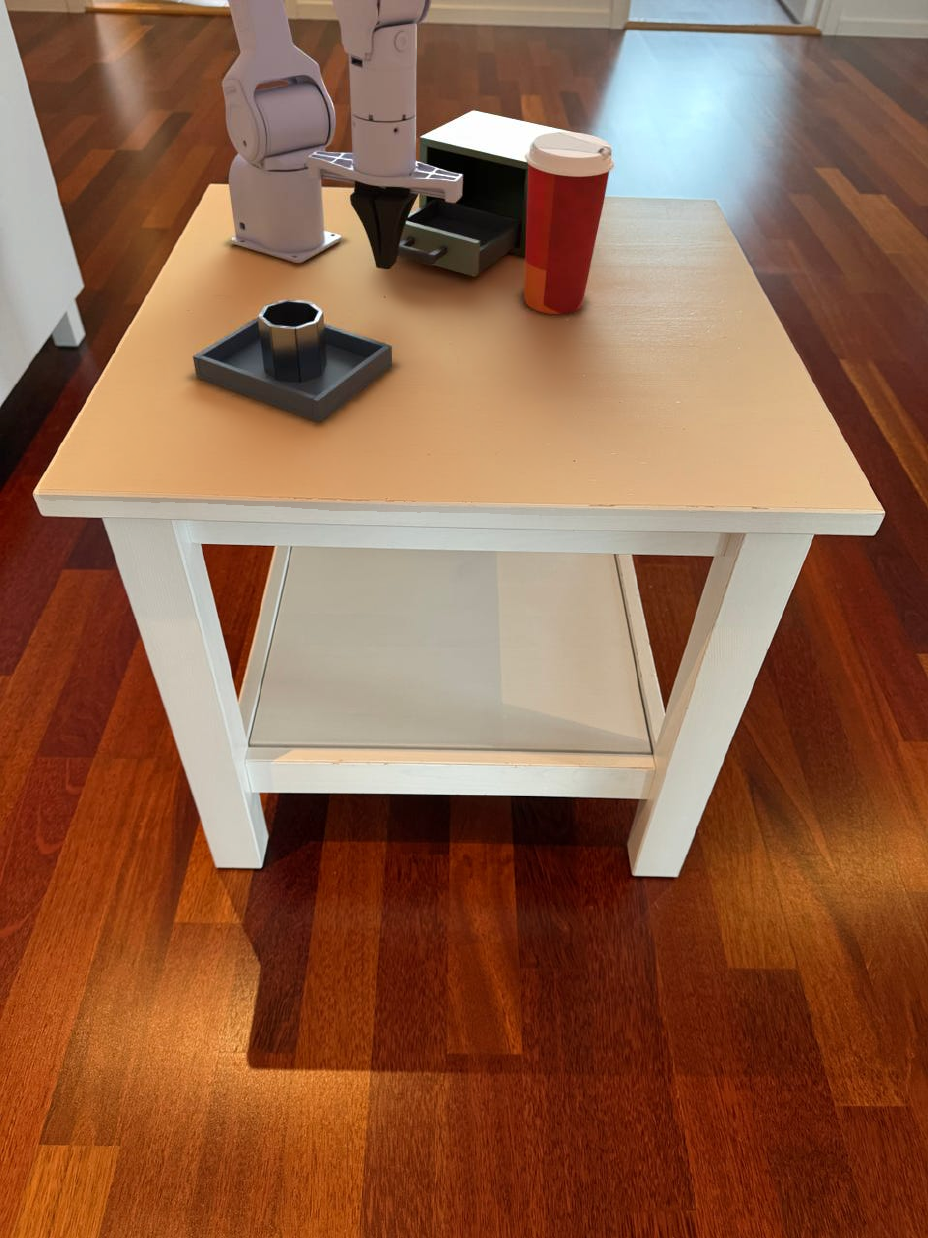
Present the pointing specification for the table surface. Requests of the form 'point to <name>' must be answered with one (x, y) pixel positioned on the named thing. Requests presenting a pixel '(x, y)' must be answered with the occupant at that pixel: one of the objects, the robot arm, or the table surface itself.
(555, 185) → the coffee cup
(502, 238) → the drawer
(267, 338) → the faceted metal cup
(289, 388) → the tray
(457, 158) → the cabinet
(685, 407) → the table surface
